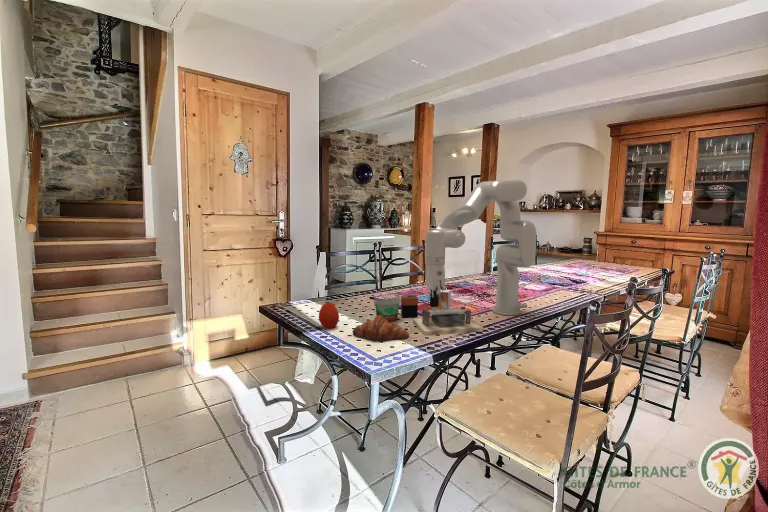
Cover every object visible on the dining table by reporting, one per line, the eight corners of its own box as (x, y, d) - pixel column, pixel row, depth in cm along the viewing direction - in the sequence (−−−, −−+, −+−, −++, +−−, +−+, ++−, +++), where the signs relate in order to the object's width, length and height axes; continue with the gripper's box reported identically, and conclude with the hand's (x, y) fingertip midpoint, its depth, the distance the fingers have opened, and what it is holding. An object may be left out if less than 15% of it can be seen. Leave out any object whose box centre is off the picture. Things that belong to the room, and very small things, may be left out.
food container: (380, 325, 152) (380, 301, 150) (373, 321, 157) (373, 298, 156) (406, 321, 157) (406, 298, 156) (398, 317, 163) (399, 295, 162)
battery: (417, 317, 163) (418, 295, 161) (402, 318, 162) (402, 295, 160) (415, 314, 167) (415, 293, 166) (400, 315, 166) (401, 293, 165)
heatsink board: (465, 318, 160) (466, 302, 159) (483, 330, 145) (484, 312, 144) (412, 322, 155) (413, 305, 154) (425, 335, 140) (425, 316, 139)
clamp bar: (465, 311, 153) (465, 308, 153) (468, 313, 150) (469, 310, 149) (427, 312, 149) (427, 309, 149) (429, 315, 146) (430, 312, 146)
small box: (430, 313, 169) (431, 290, 168) (433, 310, 175) (434, 288, 173) (447, 315, 166) (448, 292, 165) (450, 311, 172) (451, 289, 170)
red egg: (316, 325, 151) (315, 300, 150) (336, 323, 154) (335, 298, 153) (321, 332, 144) (320, 305, 142) (341, 329, 147) (341, 303, 145)
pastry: (388, 327, 150) (389, 308, 149) (410, 338, 137) (411, 318, 136) (351, 334, 141) (351, 314, 140) (371, 347, 128) (371, 325, 127)
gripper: (451, 263, 139) (450, 311, 141) (437, 258, 153) (436, 301, 156) (432, 264, 137) (431, 312, 140) (420, 258, 152) (419, 302, 154)
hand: (434, 306), depth 148 cm, fingers closed
